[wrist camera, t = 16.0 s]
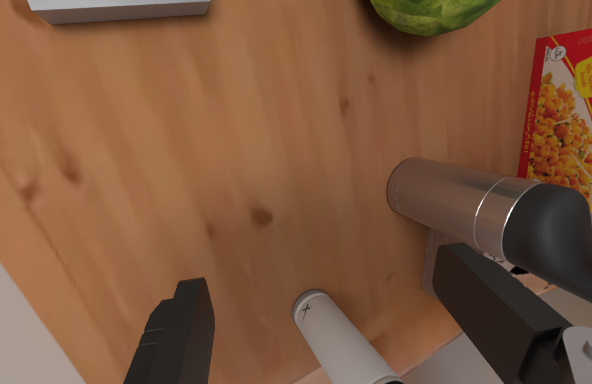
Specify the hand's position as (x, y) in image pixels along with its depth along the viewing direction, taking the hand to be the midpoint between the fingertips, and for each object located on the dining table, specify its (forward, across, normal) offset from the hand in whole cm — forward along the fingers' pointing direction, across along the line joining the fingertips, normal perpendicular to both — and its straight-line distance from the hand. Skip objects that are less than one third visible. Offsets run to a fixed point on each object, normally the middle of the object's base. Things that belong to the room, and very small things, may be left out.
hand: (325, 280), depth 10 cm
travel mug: (+25, -3, +28) cm, 37 cm away
